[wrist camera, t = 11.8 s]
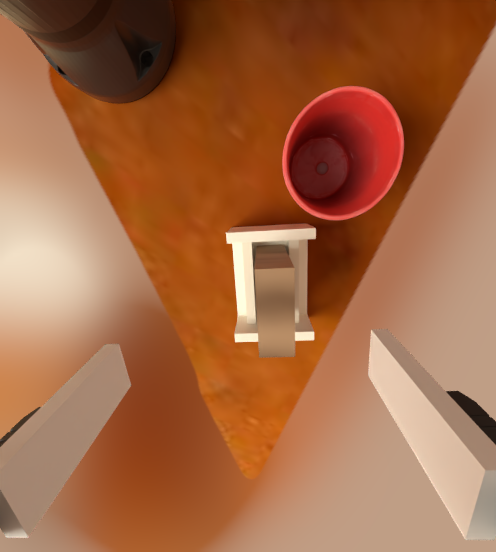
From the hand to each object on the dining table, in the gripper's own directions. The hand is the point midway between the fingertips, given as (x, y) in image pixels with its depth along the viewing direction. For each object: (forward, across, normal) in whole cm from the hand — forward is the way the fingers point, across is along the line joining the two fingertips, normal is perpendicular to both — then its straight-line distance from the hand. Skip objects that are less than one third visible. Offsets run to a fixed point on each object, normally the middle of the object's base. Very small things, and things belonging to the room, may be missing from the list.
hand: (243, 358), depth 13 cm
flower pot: (+24, +9, +10) cm, 27 cm away
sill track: (+23, +2, -3) cm, 23 cm away
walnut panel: (+22, +2, -3) cm, 22 cm away
